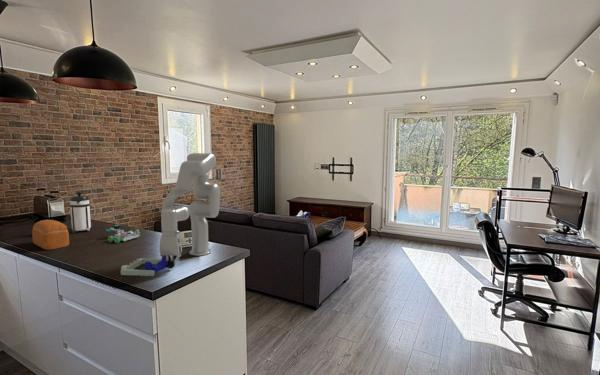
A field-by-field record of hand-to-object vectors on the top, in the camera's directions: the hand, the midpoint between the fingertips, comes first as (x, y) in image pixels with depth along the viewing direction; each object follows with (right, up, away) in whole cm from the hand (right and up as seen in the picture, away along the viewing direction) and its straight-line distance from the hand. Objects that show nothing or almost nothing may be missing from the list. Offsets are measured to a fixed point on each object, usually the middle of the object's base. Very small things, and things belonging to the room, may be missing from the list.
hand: (171, 267), depth 165 cm
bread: (-96, +4, +43) cm, 105 cm away
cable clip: (-8, -2, 0) cm, 8 cm away
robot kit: (-60, +5, +59) cm, 84 cm away
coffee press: (-101, +8, +80) cm, 129 cm away
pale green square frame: (-13, -1, +1) cm, 13 cm away
